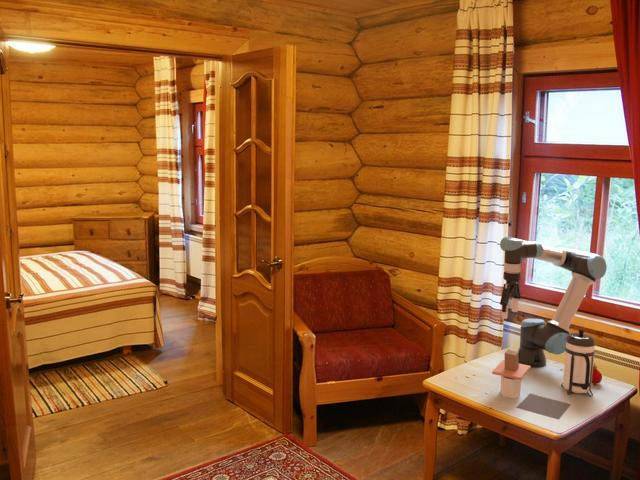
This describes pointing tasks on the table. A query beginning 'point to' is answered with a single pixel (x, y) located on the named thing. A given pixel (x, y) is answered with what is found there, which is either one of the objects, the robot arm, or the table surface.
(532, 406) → the mat
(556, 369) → the table surface
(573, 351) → the coffee press
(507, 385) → the jar
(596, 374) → the christmas ornament
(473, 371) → the table surface
